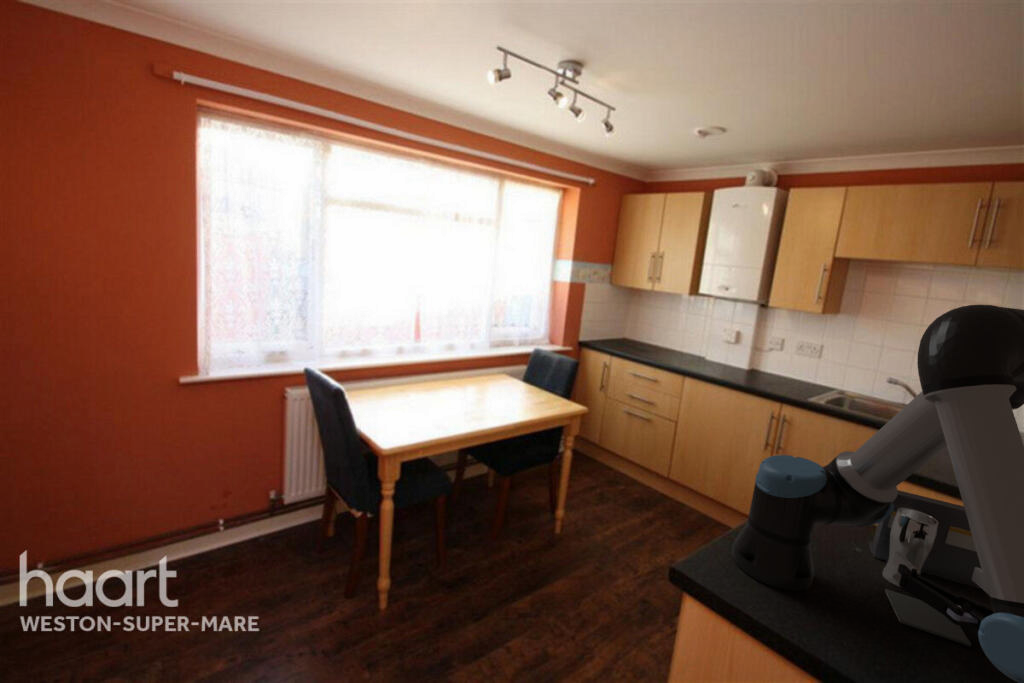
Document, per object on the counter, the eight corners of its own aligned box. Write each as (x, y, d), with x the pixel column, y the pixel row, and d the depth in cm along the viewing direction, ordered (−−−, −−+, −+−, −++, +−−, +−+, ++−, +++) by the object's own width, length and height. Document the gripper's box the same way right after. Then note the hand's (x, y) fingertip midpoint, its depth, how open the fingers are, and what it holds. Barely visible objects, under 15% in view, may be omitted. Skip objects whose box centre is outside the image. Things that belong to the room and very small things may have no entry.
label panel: (874, 558, 107) (891, 493, 104) (868, 545, 112) (884, 483, 109) (984, 591, 99) (1005, 521, 96) (971, 575, 104) (991, 509, 101)
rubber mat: (899, 622, 86) (900, 620, 86) (884, 591, 95) (885, 588, 95) (970, 646, 82) (971, 644, 82) (948, 611, 91) (948, 609, 91)
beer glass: (873, 566, 103) (889, 504, 101) (910, 575, 102) (927, 511, 99) (889, 586, 97) (907, 520, 94) (928, 596, 95) (948, 528, 92)
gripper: (929, 652, 73) (859, 568, 94) (1123, 696, 69) (1004, 598, 89) (942, 609, 72) (868, 534, 92) (1140, 651, 67) (1015, 562, 88)
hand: (934, 565), depth 91 cm, fingers open, 13 cm apart
